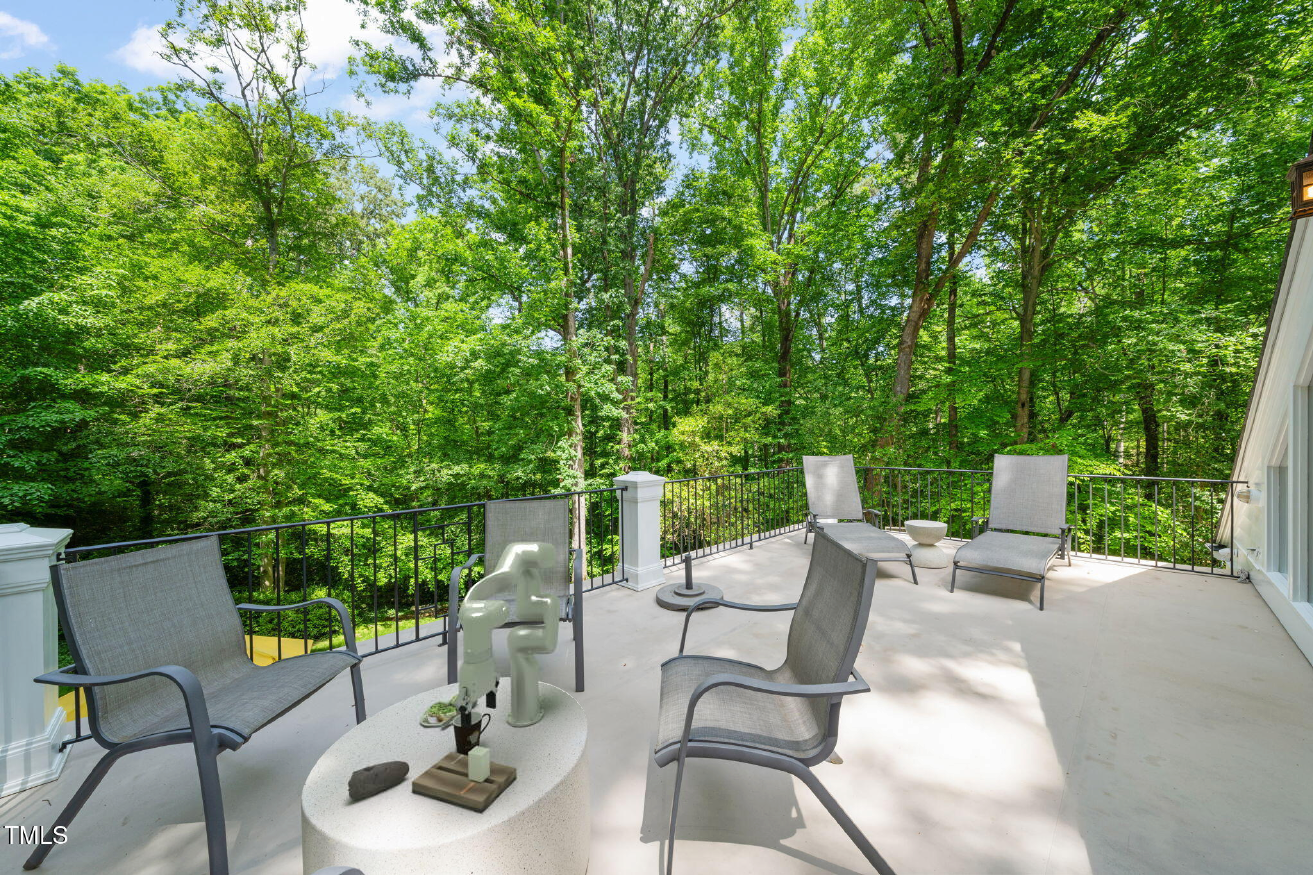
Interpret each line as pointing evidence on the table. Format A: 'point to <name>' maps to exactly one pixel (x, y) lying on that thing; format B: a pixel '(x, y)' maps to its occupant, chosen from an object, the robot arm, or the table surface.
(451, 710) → the salad plate
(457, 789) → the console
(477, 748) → the fader
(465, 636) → the robot arm
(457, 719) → the coffee mug
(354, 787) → the perforated stone tool
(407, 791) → the table surface
